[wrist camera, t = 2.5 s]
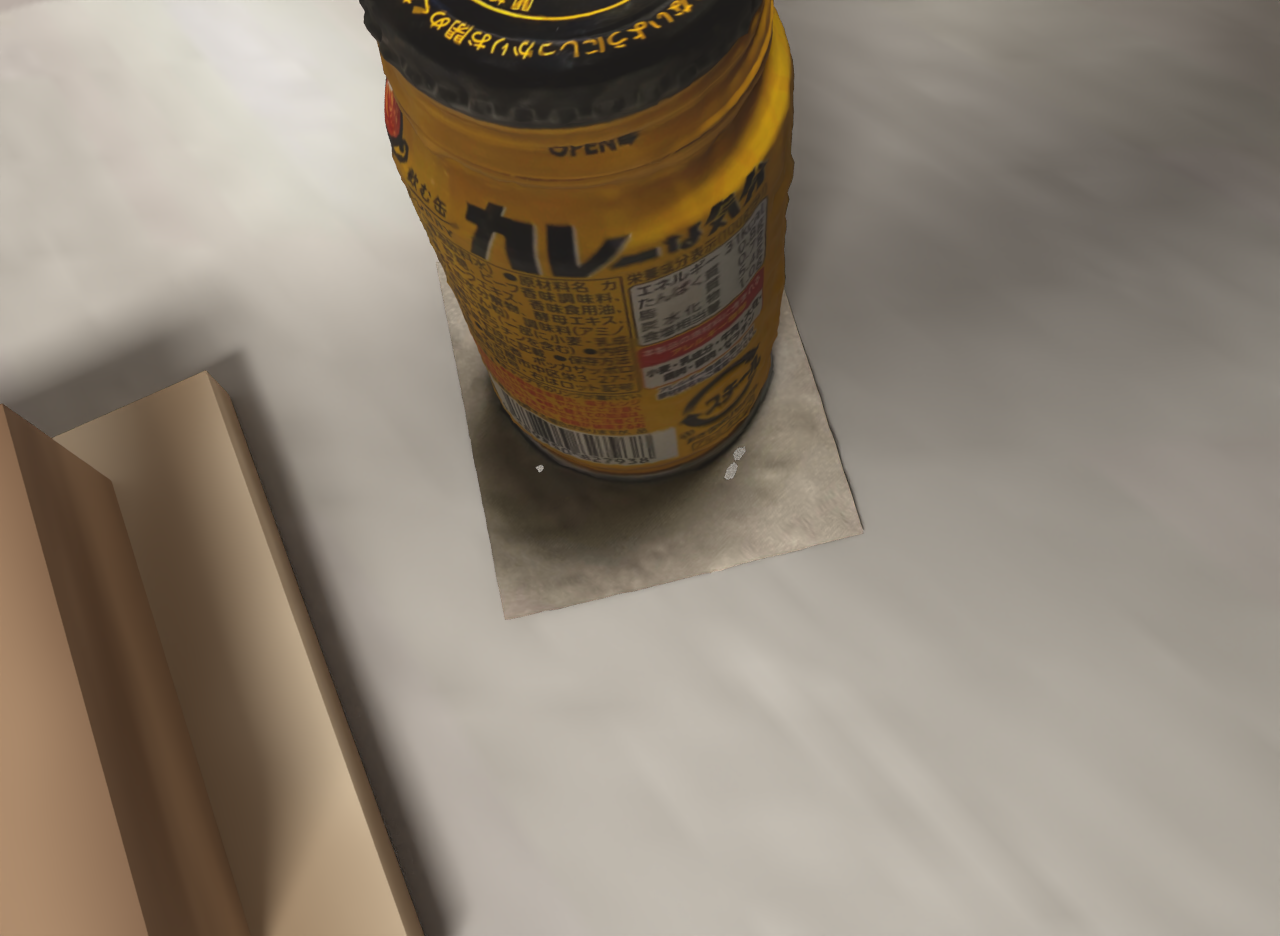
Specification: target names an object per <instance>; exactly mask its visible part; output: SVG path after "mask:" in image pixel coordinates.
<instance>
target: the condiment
mask: <svg viewBox="0 0 1280 936" xmlns="http://www.w3.org/2000/svg"><path fill="white" fill-rule="evenodd" d="M359 2H360V4H361V6H362V7H363V9H364V11H365V14H364V24H365V26H366V28H367V30H368V31H369V32H370V33H371V35H372V36H373V37H374V38H375V39H376V40H377V44H378V47H379V51H380V56H381V60H382V65H383V71H384V74H385V75H386V85H385V109H384V110H385V123H386V128H387V132H388V136H389V139H390V142H391V147H392V157H393V159H394V162H395V164H396V166H397V170H398V172H399V174H400V176H401V180H402V181H403V183H404V184H405V186H406V188H407V191H408V194H409V196H410V198H411V200H412V203H413V205H414V207H415V210H416V212H417V214H418V216H419V218H420V221H421V222H422V224H423V227H424V229H425V230H426V232H427V235H428V237H429V240H430V243H431V245H432V246H433V248H434V250H435V252H436V254H437V257H438V259H439V262H436V266H437V271H438V276H439V281H440V286H441V291H442V296H443V301H444V306H445V311H446V316H447V320H448V325H449V330H450V335H451V341H452V346H453V352H454V357H455V361H456V366H457V371H458V376H459V382H460V387H461V392H462V398H463V402H464V407H465V412H466V418H467V424H468V430H469V436H470V439H471V445H472V452H473V458H474V463H475V468H476V471H477V476H478V482H479V487H480V492H481V497H482V504H483V508H484V512H485V517H486V522H487V529H488V533H489V538H490V543H491V549H492V555H493V560H494V565H495V572H496V577H497V582H498V587H499V591H500V597H501V602H502V607H503V612H504V617H505V620H508V619H513V618H518V617H522V616H526V615H531V614H535V613H539V612H542V611H545V610H556V609H561V608H564V607H568V606H572V605H576V604H580V603H585V602H589V601H593V600H598V599H602V598H606V597H609V596H613V595H616V594H620V593H626V592H633V591H637V590H641V589H645V588H649V587H652V586H656V585H660V584H665V583H669V582H673V581H676V580H680V579H685V578H688V577H692V576H696V575H701V574H705V573H711V572H713V571H722V570H724V569H726V568H730V567H733V566H736V565H740V564H743V563H748V562H750V561H754V560H759V559H763V558H767V557H771V556H776V555H781V554H785V553H789V552H794V551H798V550H801V549H804V548H807V547H811V546H815V545H818V544H822V543H826V542H830V541H834V540H838V539H842V538H846V537H850V536H855V535H859V534H863V529H862V526H861V523H860V520H859V517H858V514H857V511H856V507H855V504H854V500H853V497H852V494H851V491H850V488H849V485H848V482H847V479H846V476H845V474H844V471H843V468H842V464H841V461H840V458H839V454H838V451H837V447H836V444H835V441H834V438H833V435H832V433H831V430H830V428H829V425H828V422H827V419H826V415H825V412H824V408H823V405H822V401H821V398H820V395H819V392H818V390H817V387H816V384H815V381H814V378H813V374H812V371H811V368H810V366H809V363H808V360H807V357H806V354H805V351H804V348H803V345H802V342H801V339H800V336H799V333H798V330H797V327H796V324H795V321H794V318H793V315H792V312H791V308H790V305H789V302H788V299H787V296H786V293H785V290H784V285H785V255H784V245H785V233H786V218H785V215H786V209H787V206H788V202H789V197H788V193H787V192H788V189H789V186H790V184H791V182H792V178H793V170H794V160H793V158H792V155H791V142H792V128H793V114H794V107H793V90H794V68H793V59H792V56H791V53H790V47H789V43H788V40H787V37H786V34H785V30H784V27H783V25H782V23H781V21H780V18H779V15H778V13H777V11H776V9H775V7H774V0H359ZM744 446H745V449H746V452H745V453H744V455H743V456H742V457H741V459H740V460H736V461H735V460H734V457H733V453H734V452H735V450H736V449H737V448H739V447H744ZM733 462H735V463H736V464H737V465H738V467H737V471H736V473H735V476H734V478H733V479H729V480H726V479H725V478H724V476H725V473H726V470H727V468H728V467H729V465H730V464H732V463H733ZM539 465H543V466H544V469H543V471H542V472H538V470H537V469H536V467H537V466H539Z"/></svg>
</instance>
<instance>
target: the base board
mask: <svg viewBox="0 0 1280 936" xmlns="http://www.w3.org/2000/svg"><path fill="white" fill-rule="evenodd" d="M0 936H424V933H423V930H422V927H421V925H420V922H419V919H418V916H417V914H416V911H415V908H414V905H413V902H412V900H411V897H410V894H409V891H408V889H407V886H406V883H405V880H404V878H403V875H402V872H401V869H400V866H399V864H398V861H397V858H396V855H395V853H394V850H393V847H392V844H391V842H390V839H389V836H388V833H387V830H386V828H385V825H384V822H383V819H382V817H381V814H380V811H379V808H378V806H377V803H376V800H375V797H374V795H373V792H372V789H371V786H370V783H369V781H368V778H367V775H366V772H365V770H364V767H363V764H362V761H361V759H360V756H359V753H358V750H357V747H356V745H355V742H354V739H353V736H352V734H351V731H350V728H349V725H348V723H347V720H346V717H345V714H344V711H343V709H342V706H341V703H340V700H339V698H338V695H337V692H336V689H335V687H334V684H333V681H332V678H331V675H330V673H329V670H328V667H327V664H326V662H325V659H324V656H323V653H322V651H321V648H320V645H319V642H318V639H317V637H316V634H315V631H314V628H313V626H312V623H311V620H310V617H309V615H308V612H307V609H306V606H305V603H304V601H303V598H302V595H301V592H300V590H299V587H298V584H297V581H296V579H295V576H294V573H293V570H292V567H291V565H290V562H289V559H288V556H287V554H286V551H285V548H284V545H283V543H282V540H281V537H280V534H279V531H278V529H277V526H276V523H275V520H274V518H273V515H272V512H271V509H270V507H269V504H268V501H267V498H266V495H265V493H264V490H263V487H262V484H261V482H260V479H259V476H258V473H257V471H256V468H255V465H254V462H253V459H252V457H251V454H250V451H249V448H248V446H247V443H246V440H245V437H244V435H243V432H242V429H241V426H240V423H239V421H238V418H237V415H236V412H235V410H234V407H233V404H232V401H231V399H230V396H229V394H228V393H227V392H226V391H225V390H224V389H223V388H222V387H221V386H220V385H219V384H218V382H217V381H216V380H215V379H214V378H213V377H212V376H211V375H210V374H209V373H208V372H207V371H206V370H205V371H203V372H201V373H199V374H196V375H194V376H192V377H190V378H187V379H185V380H183V381H180V382H178V383H176V384H174V385H171V386H169V387H167V388H165V389H162V390H160V391H158V392H155V393H153V394H151V395H149V396H146V397H144V398H142V399H139V400H137V401H135V402H133V403H130V404H128V405H126V406H124V407H121V408H119V409H117V410H114V411H112V412H110V413H108V414H105V415H103V416H101V417H98V418H96V419H94V420H92V421H89V422H87V423H85V424H83V425H80V426H78V427H76V428H73V429H71V430H69V431H67V432H64V433H62V434H60V435H58V436H55V437H53V438H50V437H49V436H48V435H46V434H45V433H43V432H42V431H40V430H39V429H38V428H36V427H35V426H33V425H32V424H31V423H29V422H28V421H26V420H25V419H23V418H22V417H21V416H19V415H18V414H16V413H15V412H14V411H12V410H11V409H9V408H8V407H6V406H5V405H4V404H0Z"/></svg>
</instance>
